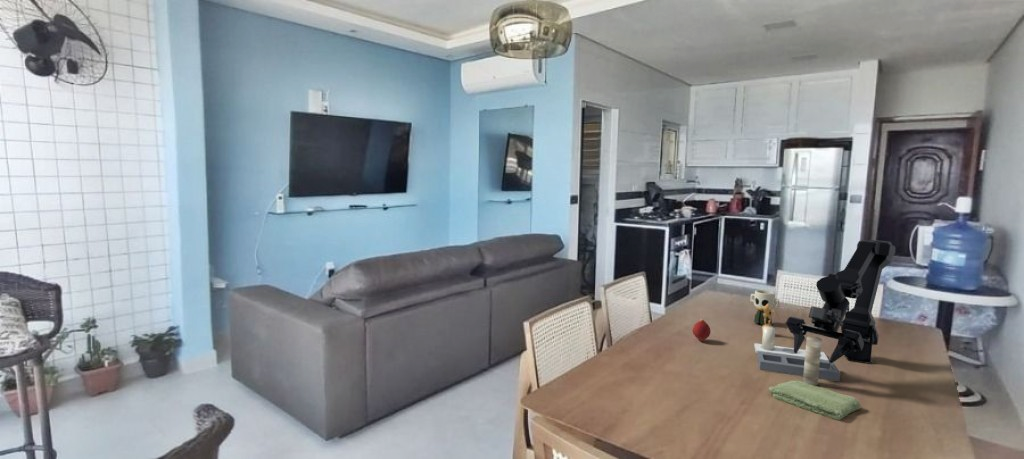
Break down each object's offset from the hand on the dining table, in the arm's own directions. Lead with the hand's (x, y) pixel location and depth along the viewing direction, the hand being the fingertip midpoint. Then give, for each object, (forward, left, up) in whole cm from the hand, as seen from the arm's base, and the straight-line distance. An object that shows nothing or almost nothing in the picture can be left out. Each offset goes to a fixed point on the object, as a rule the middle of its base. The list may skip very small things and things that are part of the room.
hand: (812, 357), depth 138 cm
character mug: (+7, -57, -8) cm, 58 cm away
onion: (+29, -25, -8) cm, 40 cm away
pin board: (+2, -10, -8) cm, 13 cm away
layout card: (+2, -24, -8) cm, 25 cm away
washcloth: (+1, +13, -8) cm, 16 cm away
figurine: (+7, -42, -8) cm, 44 cm away
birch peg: (0, 0, -8) cm, 8 cm away
